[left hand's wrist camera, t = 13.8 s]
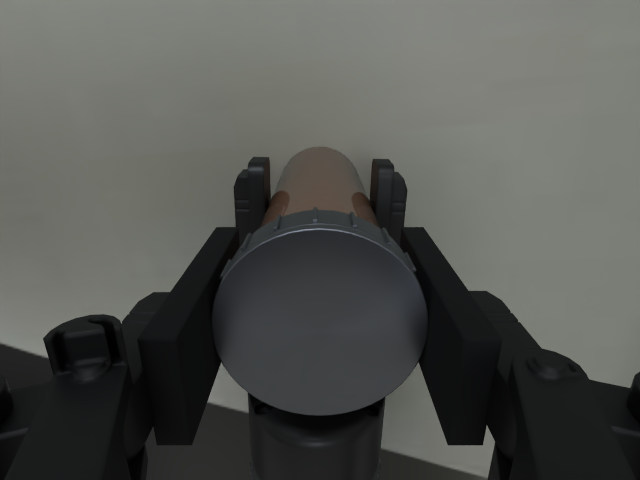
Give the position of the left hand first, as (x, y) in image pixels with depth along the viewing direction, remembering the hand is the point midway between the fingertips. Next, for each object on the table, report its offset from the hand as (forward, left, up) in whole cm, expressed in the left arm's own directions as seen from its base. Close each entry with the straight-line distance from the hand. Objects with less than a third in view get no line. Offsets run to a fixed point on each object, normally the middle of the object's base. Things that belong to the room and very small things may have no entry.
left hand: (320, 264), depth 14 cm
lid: (0, 0, +4) cm, 4 cm away
